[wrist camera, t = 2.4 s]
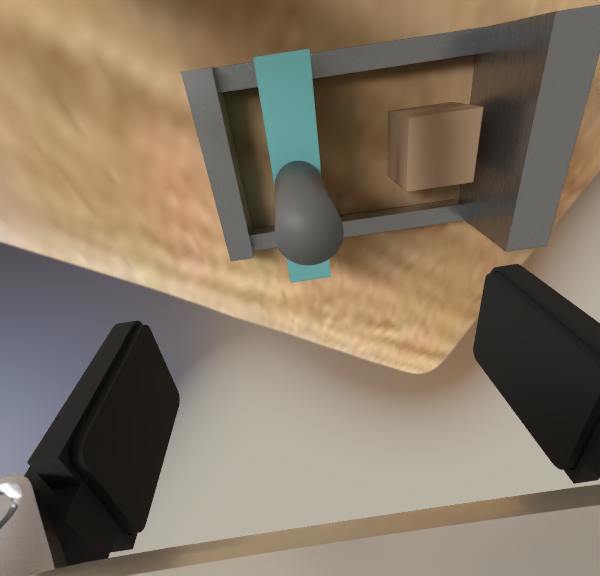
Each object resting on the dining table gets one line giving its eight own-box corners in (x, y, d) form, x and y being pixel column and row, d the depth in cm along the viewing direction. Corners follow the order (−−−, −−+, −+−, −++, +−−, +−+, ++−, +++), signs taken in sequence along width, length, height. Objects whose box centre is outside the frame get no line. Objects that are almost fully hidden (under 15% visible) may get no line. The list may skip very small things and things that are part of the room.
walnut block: (450, 101, 27) (483, 107, 23) (445, 166, 30) (473, 182, 26) (388, 111, 27) (408, 118, 23) (387, 175, 30) (406, 191, 26)
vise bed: (520, 22, 25) (613, 2, 18) (489, 209, 32) (546, 245, 25) (190, 72, 25) (159, 71, 18) (234, 246, 33) (223, 292, 26)
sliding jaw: (301, 54, 24) (330, 33, 11) (320, 242, 31) (351, 349, 19) (257, 61, 24) (241, 46, 11) (287, 247, 31) (296, 357, 19)
